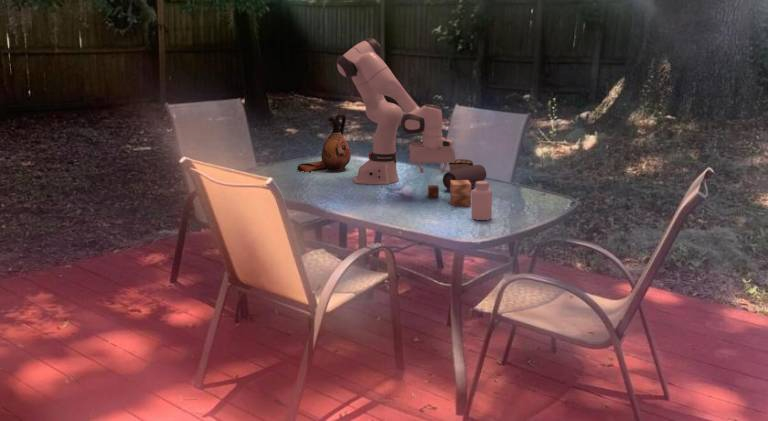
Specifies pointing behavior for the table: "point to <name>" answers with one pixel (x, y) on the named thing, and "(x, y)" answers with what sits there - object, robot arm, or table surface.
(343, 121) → the ceramic jug
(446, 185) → the bluetooth speaker
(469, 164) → the brown half-round wedge
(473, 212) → the pill bottle
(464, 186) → the tower top
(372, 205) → the table surface
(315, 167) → the sunglasses case
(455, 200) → the block
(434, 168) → the table surface
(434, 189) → the walnut block
